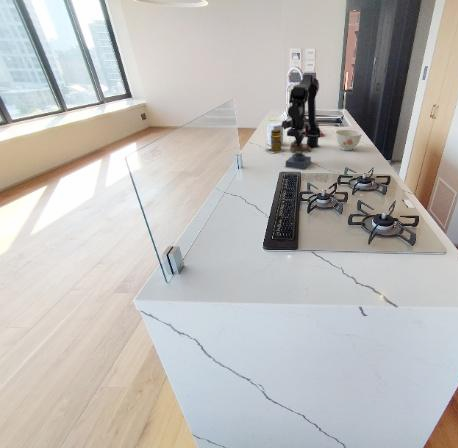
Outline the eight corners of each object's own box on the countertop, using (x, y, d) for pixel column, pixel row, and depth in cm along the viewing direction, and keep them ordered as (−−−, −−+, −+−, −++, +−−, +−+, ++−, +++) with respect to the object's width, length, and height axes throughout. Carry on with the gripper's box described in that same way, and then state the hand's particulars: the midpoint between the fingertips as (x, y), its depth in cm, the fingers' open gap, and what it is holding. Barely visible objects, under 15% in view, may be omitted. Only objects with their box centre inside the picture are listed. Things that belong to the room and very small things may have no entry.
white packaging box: (274, 146, 180) (273, 126, 173) (267, 144, 184) (266, 124, 178) (283, 144, 184) (283, 124, 177) (276, 142, 188) (276, 122, 182)
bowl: (330, 150, 175) (331, 133, 170) (339, 144, 187) (340, 128, 182) (355, 154, 169) (357, 137, 164) (363, 147, 181) (365, 131, 176)
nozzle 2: (296, 154, 152) (296, 150, 151) (303, 155, 151) (303, 151, 150) (293, 156, 149) (293, 152, 148) (300, 157, 148) (301, 153, 147)
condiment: (283, 151, 172) (283, 130, 166) (271, 153, 168) (270, 132, 162) (277, 148, 177) (277, 128, 171) (265, 150, 173) (264, 130, 167)
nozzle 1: (299, 142, 174) (299, 139, 173) (300, 144, 171) (300, 141, 170) (293, 143, 173) (293, 139, 172) (294, 144, 170) (294, 141, 169)
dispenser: (293, 159, 159) (293, 151, 156) (310, 162, 156) (311, 153, 153) (285, 166, 149) (285, 157, 146) (303, 169, 146) (303, 159, 144)
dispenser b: (306, 147, 179) (306, 140, 177) (309, 151, 172) (310, 144, 170) (290, 148, 176) (290, 141, 174) (293, 152, 170) (293, 145, 168)
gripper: (290, 110, 149) (290, 140, 157) (276, 116, 134) (277, 149, 142) (311, 112, 146) (309, 142, 154) (298, 119, 131) (298, 152, 139)
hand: (298, 146), depth 148 cm, fingers closed
